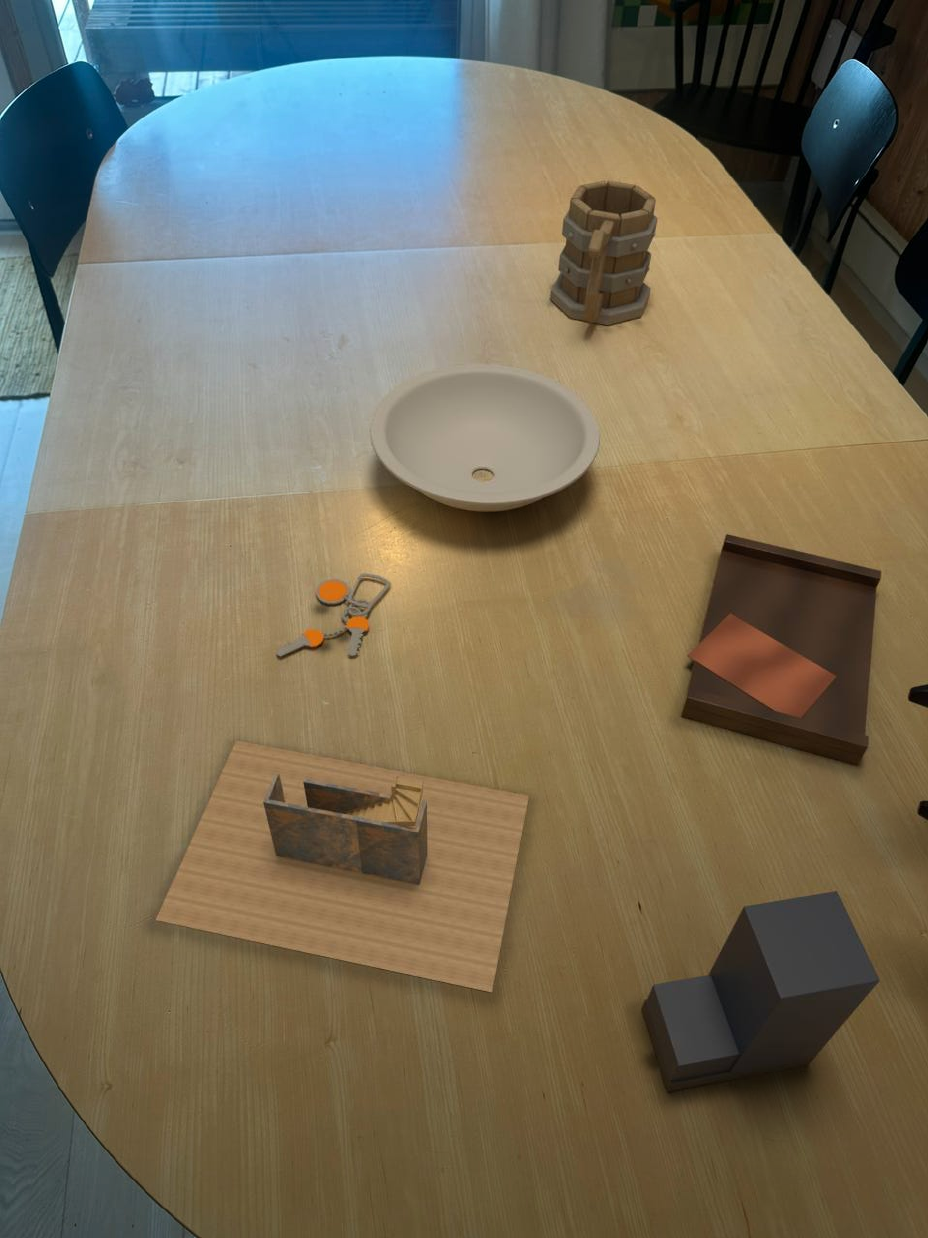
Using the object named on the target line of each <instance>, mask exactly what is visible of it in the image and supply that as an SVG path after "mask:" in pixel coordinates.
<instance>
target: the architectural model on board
mask: <svg viewBox="0 0 928 1238" xmlns="http://www.w3.org/2000/svg"><path fill="white" fill-rule="evenodd" d="M529 798H530V795H527V794H522V793H517V792H511V791H506V790H503V789H502V790H501V789H496V788H491V787H485V786H481V785H475V784H471V783H470V784H469V783H464V782H459V781H453V780H448V779H443V778H438V777H433V776H428V775H422V774H416V773H412V772H406V771H400V770H396V769H391V768H384V767H381V766H380V767H379V766H375V765H370V764H365V763H364V764H363V763H358V762H354V761H347V760H342V759H337V758H332V757H326V756H323V755H322V756H321V755H316V754H311V753H305V752H301V751H295V750H289V749H286V748H285V749H284V748H279V747H274V746H269V745H264V744H263V745H262V744H259V743H254V742H253V743H252V742H247V741H242V740H235V742H234V744H233V747H232V748H231V751H230V753H229V755H228V758H227V759H226V762H225V764H224V767H223V769H222V771H221V773H220V776H219V778H218V779H217V782H216V784H215V787H214V789H213V791H212V793H211V796H210V797H209V801H208V802H207V804H206V807H205V809H204V811H203V813H202V815H201V818H200V819H199V822H198V823H197V828H195V831H194V833H193V836H192V838H191V840H190V842H189V845H188V847H187V848H186V849H187V850H186V851H185V853H184V856H183V858H182V860H181V863H180V865H179V867H178V869H177V871H176V873H175V876H174V878H173V880H172V882H171V885H170V886H169V889H168V891H167V893H166V895H165V898H164V900H163V903H162V904H161V907H160V909H159V911H158V912H157V913H158V914H157V916H156V918H155V921H159V922H163V923H167V924H172V925H176V926H182V927H185V928H190V929H195V930H200V931H204V932H209V933H212V934H213V933H214V934H217V935H218V934H219V935H223V936H227V937H233V938H237V939H242V940H247V941H250V942H251V941H252V942H256V943H260V944H266V945H270V946H275V947H278V948H284V949H288V950H293V951H296V952H302V953H306V954H312V955H317V956H321V957H324V958H325V957H326V958H330V959H333V960H339V961H343V962H348V963H353V964H357V965H363V966H367V967H372V968H377V969H381V970H386V971H390V972H395V973H400V974H405V975H410V976H413V977H419V978H423V979H428V980H432V981H437V982H441V983H446V984H451V985H455V986H461V987H463V988H464V987H465V988H470V989H473V990H474V989H475V990H479V991H483V992H484V991H485V992H487V993H493V991H494V990H493V989H494V984H495V980H496V973H497V969H498V962H499V958H500V954H501V953H500V952H501V947H502V941H503V936H504V931H505V925H506V920H507V917H508V910H509V904H510V899H511V895H512V889H513V884H514V878H515V873H516V867H517V862H518V857H519V851H520V847H521V842H522V836H523V830H524V825H525V819H526V814H527V809H528V803H529Z"/></svg>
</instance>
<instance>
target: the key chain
mask: <svg viewBox="0 0 928 1238" xmlns="http://www.w3.org/2000/svg"><path fill="white" fill-rule="evenodd" d="M363 578H372V579H376V580H378V581H381V582H383V583H385V585H384V587H383V588H382V589H381V590H380V591H379V592H378V593H377V595H375V597H374V598H373V599H372V600H371V601H369V600H367V599H363V598H360V599H356V597H355V596H354V593H355V591H356V589H357V587H358V585H359V583H360V581H361V580H362V579H363ZM391 585H392V583H391V581H390V580H389V579H387V578H385V577H383V576H381V575H378V574H373V573H366V572H365V573H364V572H363V573H360V574H359V575H358V577H357V580H356V582H355V584H354V586H353V588H352V589H350V586H349V585H348V583H346V582H345V581H344V580H341V579H337V578H329V579H327V580H324V581H322V582H321V583H319V584H318V585H317V587H316V589H315V596H316V598H317V600H318V601H320V602H321V603H322V604H325V605H338V604H342V603H343V602H345V601H346V602H348V603H349V605H348V607H346V608H344V609H343V610H342V612H341V618H342V620H343V621H344V622H346V624H345V625H344V626H343V627H341V628H340V629H338V630H336V631H333V632H325V633H324V632H322V631H320V630H319V629H313V628H311V629H306V630H305V631H304V632H302V633H301V636H300V637H298V638H297V639H296V640H295V641H289V642H287V643H288V644H285V645H283V647H277V650H275V652H276V656H278V657H280V658H281V657H283V656H285V655H288V654H290V653H292V652H294V651H296V650H299V649H300V648H303V647H310V648H316V647H318V646H320V645H321V644H322V643H323V641H324V637H333V636H337V635H339V634H342V633H343V632H345V631H346V630H348V631H349V632H350V633H351V635H350V641H349V645H348V649H347V653H346V654H347V656H350V657H355V656H357V655H358V654H359V650H358V648H360V646H361V645H362V637H364V633H365V632H368V630H369V628H370V624H369V621H368V619H367V618H366V617H364V616H366V615H367V614H368V613H369V612H370V611H371V609H372V606H373V605H374V604H375V603H376V602H378V600H379V599H380V598H381V597H382V596H383V595H384V594H385V593H386V592H387V590H389V588H390V586H391ZM350 590H351V592H350ZM356 606H357V607H356ZM359 608H363V609H365V610H363V611H362V610H361V609H359ZM352 610H353V611H356V612H353V611H352ZM346 613H348V614H349V615H351V616H352V617H351V618H349V619H347V618H346V616H345V615H346Z"/></svg>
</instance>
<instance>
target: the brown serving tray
mask: <svg viewBox="0 0 928 1238" xmlns="http://www.w3.org/2000/svg"><path fill="white" fill-rule="evenodd" d="M722 543H723V544H722V546H721V550H720V553H719V558H718V561H717V565H716V570H715V573H714V578H713V583H712V586H711V591H710V593H709V599H708V603H707V607H706V610H705V611H706V612H705V616H704V620H703V623H702V627H701V632H700V636H699V639H698V644H697V645H696V646H695V647H694V648H693V649H692V650H691V651H690V652H689V653H688V654H687V655H686V657H687V658H689V659H691V660H693V665H692V667H691V668H692V669H691V673H690V677H689V682H688V685H687V690H686V694H685V697H684V701H683V706H682V711H681V715H680V716H681V717H683V718H687V719H689V720H693V721H697V722H701V723H704V724H708V725H711V726H715V727H719V728H721V729H726V730H729V731H733V732H735V733H740V734H744V735H747V736H751V737H754V738H758V739H761V740H765V741H768V742H772V743H776V744H779V745H782V746H787V747H790V748H794V749H796V750H797V749H798V750H800V751H804V752H807V753H811V754H815V755H817V756H818V755H819V756H823V757H826V758H829V759H833V760H836V761H841V762H843V763H847V764H851V765H855V766H859V764H860V762H861V761H862V758H863V757H864V755H865V754H866V752H867V750H868V749H869V739H870V737H869V736H868V735H866V729H867V728H866V726H867V715H868V714H867V713H868V699H869V689H870V675H871V662H872V651H873V650H872V649H873V638H874V625H875V612H876V600H877V599H876V598H877V589H878V588H877V587H878V586H879V584H880V582H881V579H882V570H879V569H876V568H871V567H866V566H862V565H859V564H855V563H851V562H846V561H843V560H837V559H835V558H834V559H833V558H829V557H826V556H820V555H816V554H812V553H808V552H804V551H800V550H796V549H791V548H787V547H782V546H779V545H775V544H770V543H766V542H763V541H758V540H753V539H751V538H750V539H749V538H745V537H742V536H741V537H740V536H736V535H732V534H729V533H726V534H725V537H724V541H723V542H722Z"/></svg>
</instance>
